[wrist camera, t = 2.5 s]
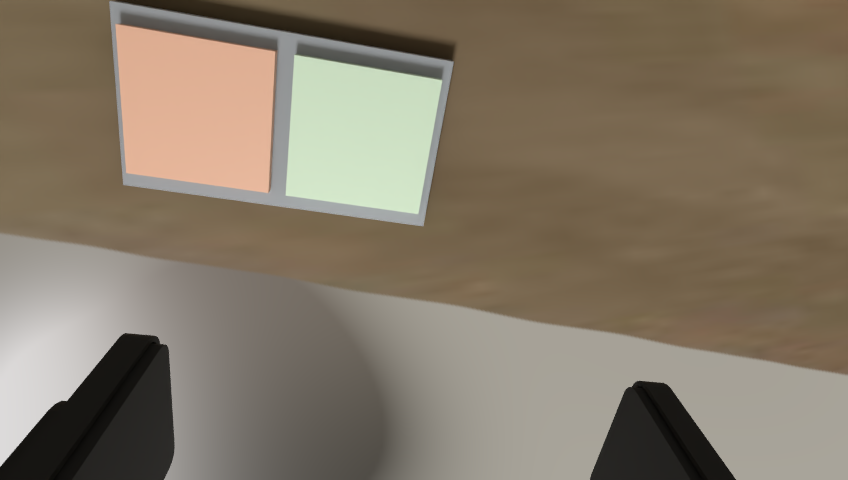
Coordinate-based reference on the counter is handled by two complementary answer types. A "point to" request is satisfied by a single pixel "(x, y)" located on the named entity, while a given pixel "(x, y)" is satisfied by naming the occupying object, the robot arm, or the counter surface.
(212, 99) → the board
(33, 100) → the counter surface
